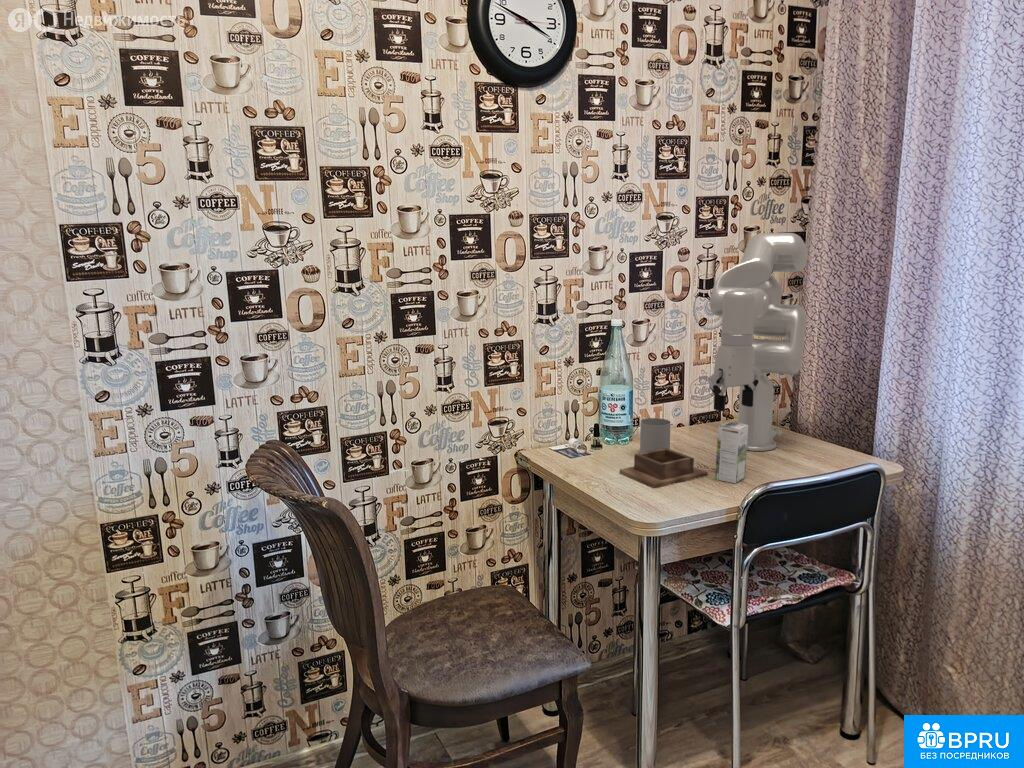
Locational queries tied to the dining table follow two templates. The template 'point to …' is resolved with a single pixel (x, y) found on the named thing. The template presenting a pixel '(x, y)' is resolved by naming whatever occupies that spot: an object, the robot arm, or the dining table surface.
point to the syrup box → (731, 452)
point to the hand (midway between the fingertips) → (733, 408)
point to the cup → (654, 434)
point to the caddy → (662, 468)
